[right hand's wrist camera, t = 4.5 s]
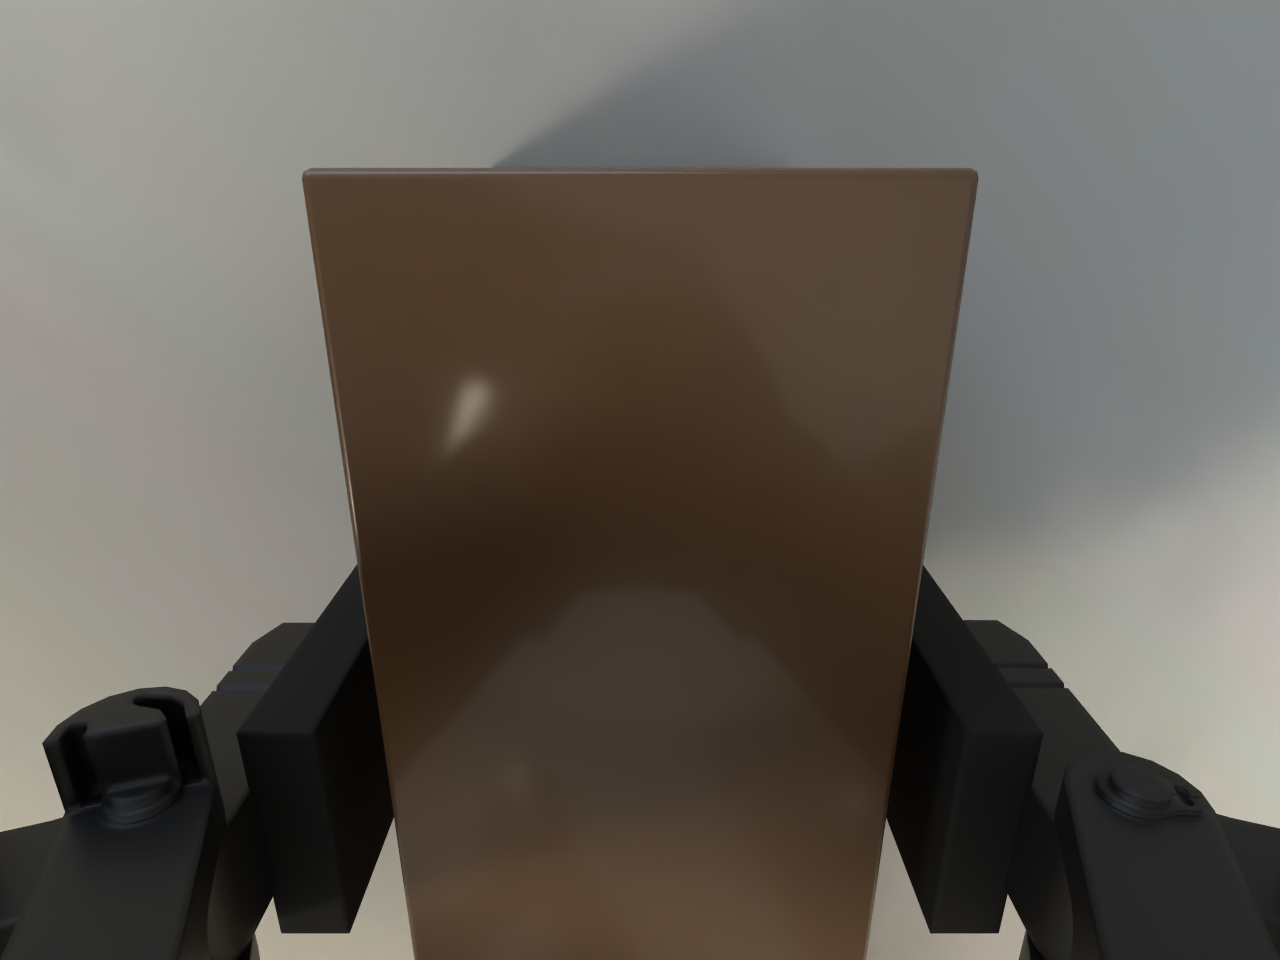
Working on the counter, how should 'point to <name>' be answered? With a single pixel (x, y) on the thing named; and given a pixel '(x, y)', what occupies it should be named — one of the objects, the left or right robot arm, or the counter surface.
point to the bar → (640, 537)
